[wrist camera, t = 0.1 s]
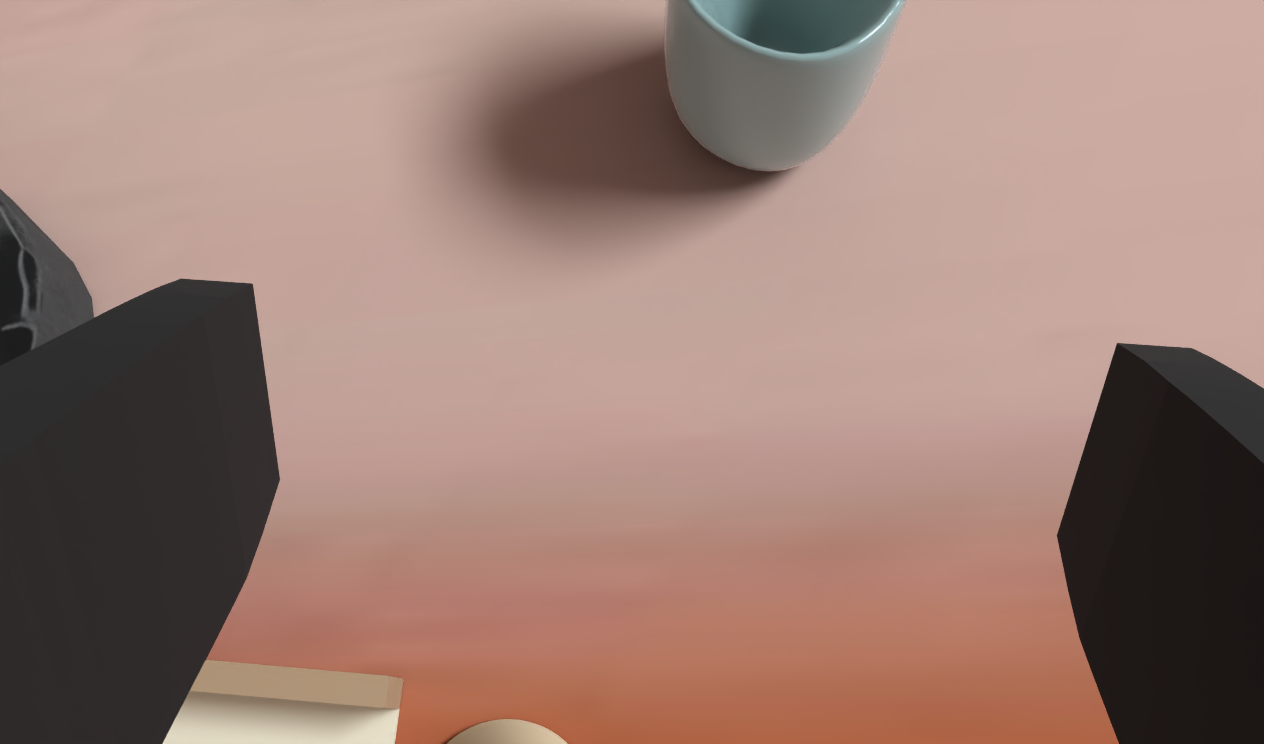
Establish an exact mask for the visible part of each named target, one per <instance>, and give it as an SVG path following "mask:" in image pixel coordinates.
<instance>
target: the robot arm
mask: <svg viewBox="0 0 1264 744" xmlns="http://www.w3.org/2000/svg"><path fill="white" fill-rule="evenodd" d="M279 481H280V477H279V470H278V463H277V455H276V448H275V441H274V434H273V427H272V419H271V412H270V405H269V398H268V391H267V383H266V376H265V369H264V362H263V354H262V347H261V340H260V333H259V326H258V318H257V311H256V304H255V297H254V290H253V284H250V283H235V282H220V281H206V280H191V279H179V280H176V281H174V282H171V283H168V284H166V285H163V286H160V287H158V288H156V289H153V290H151V291H149V292H146V293H144V294H142V295H140V296H138V297H136V298H133V299H131V300H129V301H127V302H125V303H123V304H121V305H119V306H117V307H115V308H113V309H111V310H109V311H107V312H105V313H103V314H101V315H99V316H97V317H95V318H93V319H91V320H89V321H87V322H85V323H83V324H81V325H79V326H77V327H75V328H74V329H72V330H70V331H68V332H66V333H64V334H62V335H60V336H58V337H56V338H54V339H52V340H50V341H48V342H46V343H44V344H42V345H40V346H38V347H36V348H34V349H32V350H30V351H28V352H26V353H24V354H22V355H21V356H19V357H17V358H15V359H13V360H11V361H9V362H7V363H5V364H3V365H1V366H0V744H163V742H164V740H165V738H166V736H167V734H168V732H169V730H170V728H171V726H172V724H173V722H174V720H175V718H176V716H177V715H178V713H179V711H180V709H181V707H182V705H183V703H184V701H185V699H186V697H187V695H188V693H189V691H190V689H191V687H192V685H193V683H194V682H195V680H196V678H197V676H198V674H199V672H200V670H201V668H202V666H203V664H204V662H205V660H206V658H207V656H208V654H209V652H210V650H211V648H212V646H213V644H214V642H215V640H216V638H217V636H218V635H219V633H220V631H221V629H222V627H223V625H224V623H225V621H226V619H227V617H228V615H229V613H230V611H231V609H232V607H233V605H234V603H235V601H236V599H237V597H238V595H239V592H240V590H241V588H242V586H243V584H244V582H245V580H246V578H247V576H248V573H249V570H250V567H251V564H252V562H253V559H254V556H255V553H256V550H257V548H258V545H259V542H260V539H261V536H262V534H263V530H264V527H265V524H266V521H267V518H268V515H269V512H270V509H271V506H272V502H273V499H274V496H275V493H276V490H277V487H278V484H279ZM1057 538H1058V543H1059V548H1060V553H1061V557H1062V562H1063V567H1064V572H1065V577H1066V582H1067V587H1068V592H1069V596H1070V600H1071V604H1072V608H1073V613H1074V617H1075V621H1076V625H1077V629H1078V633H1079V638H1080V641H1081V643H1082V646H1083V649H1084V652H1085V654H1086V657H1087V660H1088V663H1089V666H1090V668H1091V671H1092V673H1093V676H1094V679H1095V681H1096V684H1097V687H1098V689H1099V692H1100V695H1101V697H1102V700H1103V703H1104V705H1105V708H1106V711H1107V713H1108V716H1109V719H1110V721H1111V724H1112V726H1113V729H1114V732H1115V734H1116V737H1117V739H1118V742H1119V744H1264V389H1263V388H1262V387H1260V386H1259V385H1257V384H1255V383H1254V382H1252V381H1251V380H1249V379H1247V378H1246V377H1244V376H1243V375H1241V374H1239V373H1237V372H1236V371H1234V370H1232V369H1231V368H1229V367H1227V366H1225V365H1224V364H1222V363H1220V362H1218V361H1216V360H1215V359H1213V358H1211V357H1209V356H1207V355H1205V354H1203V353H1201V352H1199V351H1197V350H1194V349H1192V348H1181V347H1166V346H1152V345H1137V344H1122V343H1117V345H1116V348H1115V352H1114V355H1113V358H1112V361H1111V364H1110V368H1109V371H1108V374H1107V377H1106V380H1105V384H1104V387H1103V390H1102V393H1101V396H1100V400H1099V403H1098V406H1097V409H1096V412H1095V416H1094V419H1093V422H1092V425H1091V428H1090V432H1089V435H1088V438H1087V441H1086V444H1085V448H1084V451H1083V454H1082V457H1081V460H1080V464H1079V467H1078V470H1077V473H1076V476H1075V480H1074V483H1073V486H1072V489H1071V492H1070V496H1069V499H1068V502H1067V505H1066V508H1065V512H1064V515H1063V518H1062V521H1061V524H1060V528H1059V531H1058V534H1057Z"/></svg>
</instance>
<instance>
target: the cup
mask: <svg viewBox="0 0 1264 744" xmlns="http://www.w3.org/2000/svg"><path fill="white" fill-rule="evenodd" d="M906 1H907V0H666V4H665V24H664V56H665V66H666V74H667V82H668V88H669V93H670V96H671V99H672V102H673V104H674V107H675V109H676V112H677V114H678V116H679V118H680V120H681V121H682V123H683V124H684V126H685V127H686V128H687V130H688V131H689V133H690V134H691V135H692V137H693V138H694V139H695V140H696V141H698V142H699V143H700V144H701V145H702V146H703V147H704V148H705V149H707V150H708V151H710V152H711V153H713V154H714V155H716V156H717V157H719V158H721V159H723V160H725V161H727V162H729V163H731V164H733V165H736V166H740V167H743V168H747V169H750V170H757V171H767V172H771V171H781V170H787V169H790V168H793V167H796V166H799V165H802V164H803V163H805V162H807V161H809V160H810V159H812V158H814V157H815V156H817V155H819V154H820V153H822V152H823V151H824V150H825V149H826V148H827V147H828V146H829V145H831V144H832V143H833V142H834V141H835V140H836V139H837V138H838V137H839V136H840V135H841V133H842V132H843V131H844V129H845V128H846V127H847V125H848V124H849V123H850V122H851V120H852V119H853V117H854V116H855V115H856V113H857V112H858V110H859V108H860V107H861V105H862V103H863V101H864V100H865V98H866V96H867V94H868V92H869V90H870V88H871V86H872V84H873V82H874V80H875V78H876V76H877V74H878V72H879V70H880V67H881V65H882V63H883V61H884V58H885V56H886V54H887V51H888V49H889V46H890V44H891V41H892V39H893V36H894V34H895V31H896V29H897V26H898V24H899V21H900V18H901V16H902V13H903V10H904V7H905V4H906Z"/></svg>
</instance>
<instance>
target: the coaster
mask: <svg viewBox="0 0 1264 744" xmlns="http://www.w3.org/2000/svg"><path fill="white" fill-rule="evenodd" d="M447 744H568V743H567V742H565V741H564V740H563V739H562V738H561V737H560V736H558V735H557V734H555V733H554V732H552V731H551V730H549V729H547V728H545V727H543V726H540V725H538V724H535V723H532V722H528V721H523V720H517V719H500V720H492V721H488V722H484V723H480V724H478V725H475V726H473V727H470V728H468V729H467V730H465V731H463V732H461V733H460V734H458V735H457V736H455V737H454V738H453V739H451V740H450V741H449V742H448V743H447Z"/></svg>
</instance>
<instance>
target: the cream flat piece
mask: <svg viewBox="0 0 1264 744" xmlns="http://www.w3.org/2000/svg"><path fill="white" fill-rule="evenodd" d="M403 680H404V679H402V678H396V677H391V676H383V675H372V674H360V673H349V672H338V671H326V670H315V669H304V668H292V667H281V666H270V665H259V664H247V663H236V662H225V661H213V660H205V662H204V664H203V666H202V668H201V670H200V672H199V674H198V676H197V678H196V680H195V682H194V683H193V685H192V687H191V689H190V691H189V693H188V695H187V697H186V699H185V701H184V703H183V705H182V707H181V709H180V711H179V713H178V715H177V716H176V718H175V720H174V722H173V724H172V726H171V728H170V730H169V732H168V734H167V736H166V738H165V740H164V742H163V744H395V738H396V731H397V724H398V716H399V709H400V702H401V694H402V687H403Z"/></svg>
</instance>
